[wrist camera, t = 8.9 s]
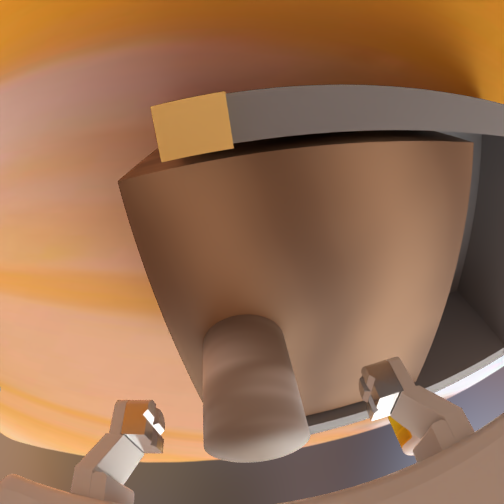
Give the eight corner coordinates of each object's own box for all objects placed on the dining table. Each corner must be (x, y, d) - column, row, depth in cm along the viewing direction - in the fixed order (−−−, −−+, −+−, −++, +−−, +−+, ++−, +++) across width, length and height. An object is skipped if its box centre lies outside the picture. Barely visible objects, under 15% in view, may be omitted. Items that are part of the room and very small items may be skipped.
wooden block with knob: (385, 119, 16) (563, 180, 5) (374, 313, 24) (444, 435, 13) (160, 145, 16) (42, 256, 4) (214, 345, 24) (221, 497, 12)
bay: (482, 102, 17) (578, 129, 7) (456, 292, 27) (511, 356, 17) (188, 105, 16) (150, 106, 7) (239, 346, 26) (252, 452, 17)
